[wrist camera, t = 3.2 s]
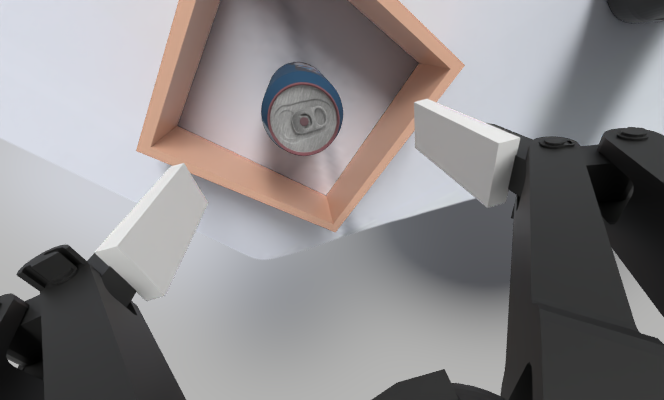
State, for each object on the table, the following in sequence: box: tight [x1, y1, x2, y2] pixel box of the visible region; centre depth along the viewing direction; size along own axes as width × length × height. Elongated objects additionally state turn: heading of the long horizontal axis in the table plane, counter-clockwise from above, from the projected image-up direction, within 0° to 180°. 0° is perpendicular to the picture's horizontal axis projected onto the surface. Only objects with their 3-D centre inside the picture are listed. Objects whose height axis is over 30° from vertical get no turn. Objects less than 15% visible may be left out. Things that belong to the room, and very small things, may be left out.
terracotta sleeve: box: [136, 0, 465, 232], centre depth 27 cm, size 23×23×7 cm
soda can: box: [261, 62, 343, 156], centre depth 25 cm, size 7×7×12 cm
